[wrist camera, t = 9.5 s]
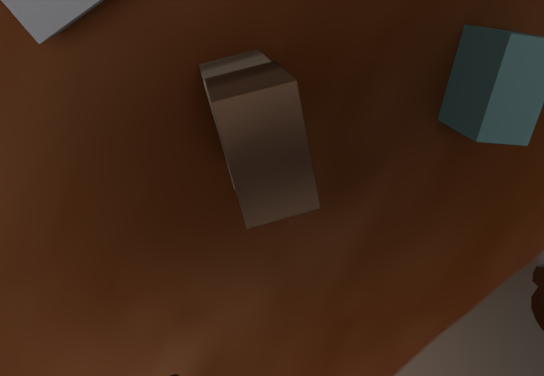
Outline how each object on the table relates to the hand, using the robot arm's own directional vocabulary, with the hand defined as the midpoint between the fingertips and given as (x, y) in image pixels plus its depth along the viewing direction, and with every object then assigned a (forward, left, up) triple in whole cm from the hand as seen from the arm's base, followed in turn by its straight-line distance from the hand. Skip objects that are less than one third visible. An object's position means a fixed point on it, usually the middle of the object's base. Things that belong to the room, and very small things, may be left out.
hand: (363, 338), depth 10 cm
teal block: (-15, +2, -20) cm, 25 cm away
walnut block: (0, 0, -15) cm, 15 cm away
